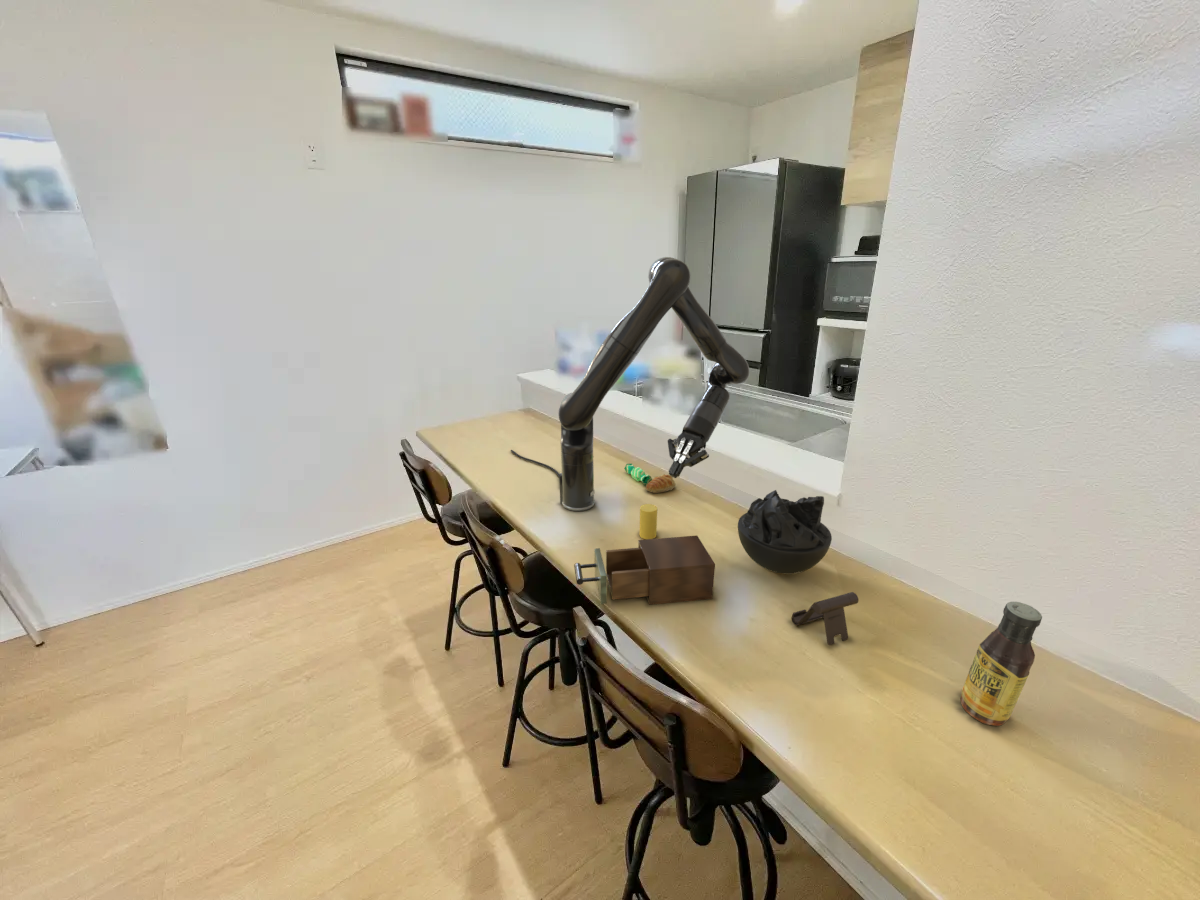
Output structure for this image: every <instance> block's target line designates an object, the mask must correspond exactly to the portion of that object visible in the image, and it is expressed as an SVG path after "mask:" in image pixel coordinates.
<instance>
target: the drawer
mask: <svg viewBox="0 0 1200 900" xmlns="http://www.w3.org/2000/svg"><path fill="white" fill-rule="evenodd" d="M593 551H594V554H593V556H594V557H593V559H594V562H593V563H585V564H584V563H583V564H580V562H576V563H575V564H574V565H573V568H574V575H575V580H576V581H575V582H576V584H577V585H580V586H581V585H583V584H584V583H591V582H595V583H596V588H597V593H598V596H599V602H600V604H601V605H604V604H605V605H606V604H607V603H608V599H607V598H608V590H607V587H608V588H609V592H610V595H611V599H612V600H621V599H622V600H623V599H632V598H642V597H646V596H649V569H648V566H647V563H646V561H645V558H644V556H643V553H642V551H641V548H638V547H630V548H617V549H615V548H614V549H606V550H605V564H604V559H603V556H602V552H601V548H600V547H598V548H596V547H595V548H594V549H593ZM588 568H589V569H591V568H594V576H593V577H583V571H582V569H588ZM607 583H608V584H607ZM607 585H608V586H607Z"/></svg>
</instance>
